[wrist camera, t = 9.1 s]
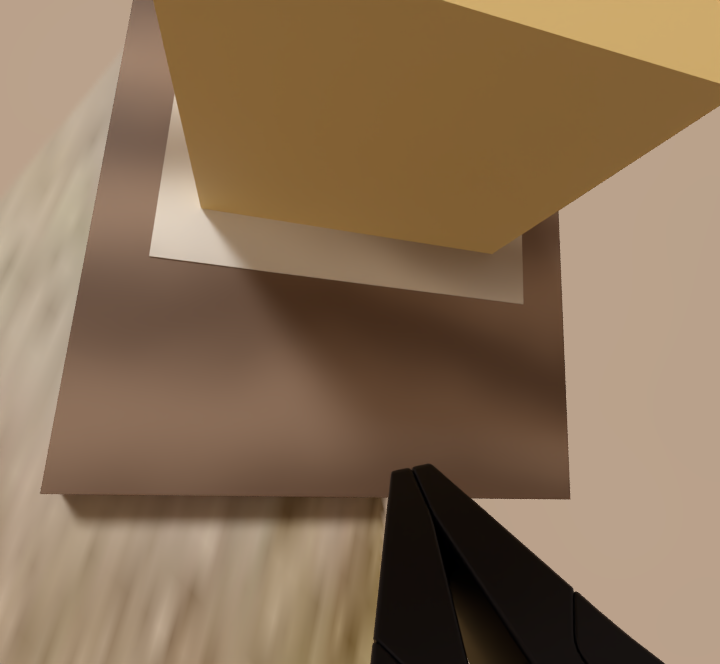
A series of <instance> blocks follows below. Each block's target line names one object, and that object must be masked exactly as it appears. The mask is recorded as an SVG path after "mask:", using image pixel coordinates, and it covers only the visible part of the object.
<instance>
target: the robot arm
mask: <svg viewBox="0 0 720 664" xmlns="http://www.w3.org/2000/svg"><path fill="white" fill-rule="evenodd" d="M373 639H374V643H373V645H372V654H371V663H370V664H469V663H470V664H664V663H663V662H662V661H661V660H660V659H658V658H657V657H656V656H654V655H653V654H652V653H650V652H649V651H648V650H647V649H645V648H644V647H643V646H641V645H640V644H639V643H637V642H636V641H635V640H634V639H632V638H631V637H630V636H629V635H627V634H626V633H625V632H624V631H623V630H621V629H620V628H619V627H618V626H617V625H615V624H614V623H613V622H612V621H611V620H609V619H608V618H607V617H606V616H605V615H604V614H602V613H601V612H600V611H599V610H598V609H596V608H595V607H594V606H593V605H592V604H591V603H590V602H589V601H587V600H586V599H585V598H584V597H583V596H581V594H580V593H578V592H574V591H573V588H572V587H571V586H570V585H569V584H568V583H567V582H565V581H564V580H563V579H562V578H561V577H560V576H559V575H557V574H556V573H555V572H554V571H553V570H552V569H551V568H550V567H549V566H547V565H546V564H545V563H544V562H543V561H542V560H541V559H539V558H538V557H537V556H536V555H535V554H534V553H533V552H531V551H530V550H529V549H528V548H527V547H526V546H525V545H523V544H522V543H521V542H520V541H519V540H518V539H517V538H516V537H514V536H513V535H512V534H511V533H510V532H508V531H507V530H506V529H505V528H504V527H503V526H502V525H501V524H499V523H498V522H497V521H496V520H495V519H494V518H493V517H491V516H490V515H489V514H488V513H487V512H486V511H485V510H484V509H482V508H481V507H480V506H479V505H478V504H477V503H476V502H475V501H473V500H472V499H471V498H470V497H469V496H468V495H467V494H465V493H464V492H463V491H462V490H461V489H460V488H459V487H457V486H456V485H455V484H454V483H453V482H452V481H451V480H450V479H448V478H447V477H446V476H445V475H444V474H443V473H442V472H440V471H439V470H438V469H437V468H436V467H435V466H434V465H432V464H429V463H428V464H423V465H418V466H414V467H413V468H412V469H410V468H404V469H399V470H395V471H392V472H391V476H390V485H389V495H388V504H387V514H386V523H385V533H384V542H383V552H382V561H381V571H380V580H379V590H378V599H377V609H376V618H375V628H374V637H373ZM467 658H468V659H467ZM468 661H469V663H468Z"/></svg>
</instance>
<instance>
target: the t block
mask: <svg viewBox="0 0 720 664" xmlns="http://www.w3.org/2000/svg"><path fill="white" fill-rule="evenodd" d="M153 2H154V6H155V11H156V15H157V19H158V24H159V28H160V32H161V37H162V41H163V45H164V50H165V54H166V58H167V63H168V67H169V71H170V76H171V80H172V84H173V89H174V93H175V97H176V102H177V106H178V110H179V115H180V119H181V123H182V128H183V132H184V136H185V141H186V145H187V149H188V154H189V158H190V162H191V167H192V171H193V175H194V180H195V184H196V188H197V193H198V197H199V201H200V206H201V208H202V209H208V210H215V211H221V212H227V213H234V214H240V215H246V216H253V217H259V218H266V219H272V220H278V221H285V222H291V223H297V224H304V225H310V226H316V227H323V228H329V229H335V230H342V231H348V232H355V233H361V234H367V235H374V236H380V237H386V238H393V239H399V240H405V241H412V242H418V243H425V244H431V245H437V246H444V247H450V248H456V249H463V250H469V251H475V252H482V253H488V254H493V253H494V252H496V251H498V250H499V249H501V248H502V247H504V246H505V245H507V244H508V243H510V242H511V241H513V240H514V239H516V238H517V237H519V236H521V235H522V234H524V233H525V232H527V231H528V230H530V229H531V228H533V227H534V226H536V225H537V224H539V223H540V222H542V221H544V220H545V219H547V218H548V217H550V216H551V215H553V214H554V213H556V212H557V211H559V210H560V209H562V208H563V207H565V206H566V205H568V204H569V203H571V202H573V201H574V200H576V199H577V198H579V197H580V196H582V195H583V194H585V193H586V192H588V191H590V190H591V189H593V188H594V187H596V186H597V185H599V184H600V183H602V182H603V181H605V180H606V179H608V178H609V177H611V176H613V175H614V174H616V173H617V172H619V171H620V170H622V169H623V168H625V167H626V166H628V165H629V164H631V163H632V162H634V161H636V160H637V159H639V158H640V157H642V156H643V155H645V154H646V153H648V152H649V151H651V150H652V149H654V148H655V147H657V146H659V145H660V144H661V143H663V142H665V141H666V140H668V139H669V138H671V137H672V136H674V135H675V134H677V133H678V132H680V131H681V130H683V129H685V128H686V127H688V126H689V125H691V124H692V123H694V122H695V121H697V120H698V119H700V118H701V117H703V116H705V115H706V114H708V113H709V112H711V111H712V110H713V109H715V108H717V107H718V106H720V0H153Z"/></svg>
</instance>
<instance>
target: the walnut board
mask: <svg viewBox="0 0 720 664" xmlns="http://www.w3.org/2000/svg"><path fill="white" fill-rule="evenodd" d="M560 264H561V263H560V240H559V214H558V211H557V212H556V213H554V214H553V215H551V216H550V217H548V218H547V219H545V220H544V221H542V222H540V223H539V224H537V225H536V226H534V227H533V228H531V229H530V230H528V231H527V232H525V233H524V234H522V235H521V236H519V237H517V238H516V239H514V240H513V241H511V242H510V243H508V244H507V245H505V246H504V247H502V248H501V249H499V250H498V251H496V252H494V253H493V254H488V253H482V252H475V251H469V250H463V249H456V248H450V247H444V246H437V245H431V244H425V243H418V242H412V241H405V240H399V239H393V238H386V237H380V236H374V235H367V234H361V233H355V232H348V231H342V230H335V229H329V228H323V227H316V226H310V225H304V224H297V223H291V222H285V221H278V220H272V219H266V218H259V217H253V216H246V215H240V214H234V213H227V212H221V211H215V210H208V209H202V208H201V206H200V201H199V197H198V193H197V188H196V184H195V180H194V175H193V171H192V167H191V162H190V158H189V154H188V149H187V145H186V141H185V136H184V132H183V128H182V123H181V119H180V115H179V110H178V106H177V102H176V97H175V93H174V89H173V84H172V80H171V76H170V71H169V67H168V63H167V58H166V54H165V50H164V45H163V41H162V37H161V32H160V28H159V24H158V19H157V15H156V11H155V6H154V2H153V0H133V3H132V9H131V14H130V19H129V24H128V30H127V35H126V40H125V46H124V51H123V56H122V62H121V67H120V72H119V77H118V83H117V88H116V93H115V99H114V104H113V109H112V115H111V120H110V125H109V131H108V136H107V141H106V146H105V152H104V157H103V162H102V168H101V173H100V178H99V184H98V189H97V194H96V200H95V205H94V210H93V216H92V221H91V226H90V231H89V237H88V242H87V247H86V253H85V258H84V263H83V269H82V274H81V279H80V285H79V290H78V295H77V301H76V306H75V311H74V316H73V322H72V327H71V332H70V338H69V343H68V348H67V354H66V359H65V364H64V370H63V375H62V380H61V386H60V391H59V396H58V401H57V407H56V412H55V417H54V423H53V428H52V433H51V439H50V444H49V449H48V455H47V460H46V465H45V470H44V476H43V481H42V486H41V492H40V494H98V495H196V496H293V497H388V495H389V485H390V476H391V472H392V471H395V470H399V469H404V468H410V469H412V468H413V467H414V466H418V465H423V464H428V463H429V464H432V465H434V466H435V467H436V468H437V469H438V470H439V471H440V472H442V473H443V474H444V475H445V476H446V477H447V478H448V479H450V480H451V481H452V482H453V483H454V484H455V485H456V486H457V487H459V488H460V489H461V490H462V491H463V492H464V493H465V494H467V495H468V496H469V497H470V498H490V499H494V498H495V499H496V498H497V499H498V498H499V499H570V483H569V457H568V434H567V412H566V411H567V410H566V385H565V362H564V361H565V360H564V337H563V312H562V289H561V288H562V287H561V265H560Z"/></svg>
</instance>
